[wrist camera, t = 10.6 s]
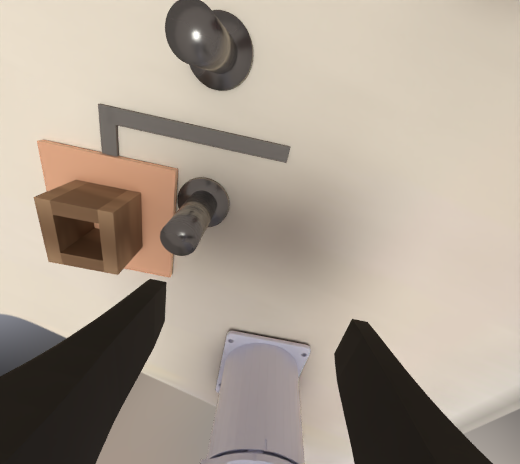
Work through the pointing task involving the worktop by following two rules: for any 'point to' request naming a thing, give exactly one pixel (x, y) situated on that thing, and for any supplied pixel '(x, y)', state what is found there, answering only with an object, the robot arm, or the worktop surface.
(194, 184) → the post
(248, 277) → the worktop surface
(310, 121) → the worktop surface
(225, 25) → the post
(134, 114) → the grey flat l-shaped piece
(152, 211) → the pad
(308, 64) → the worktop surface
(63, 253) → the open wooden crate
